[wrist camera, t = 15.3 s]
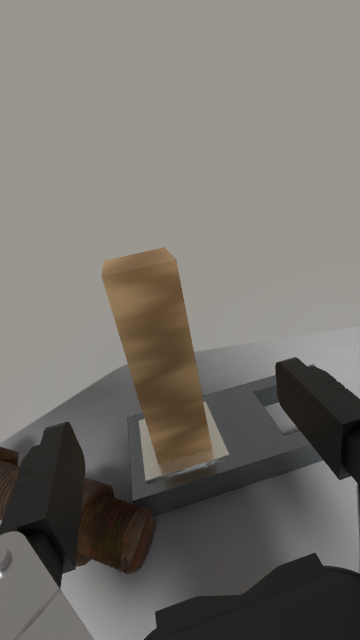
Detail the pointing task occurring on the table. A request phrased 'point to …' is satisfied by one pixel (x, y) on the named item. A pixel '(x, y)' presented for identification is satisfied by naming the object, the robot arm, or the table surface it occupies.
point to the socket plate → (218, 451)
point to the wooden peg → (158, 350)
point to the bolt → (97, 521)
